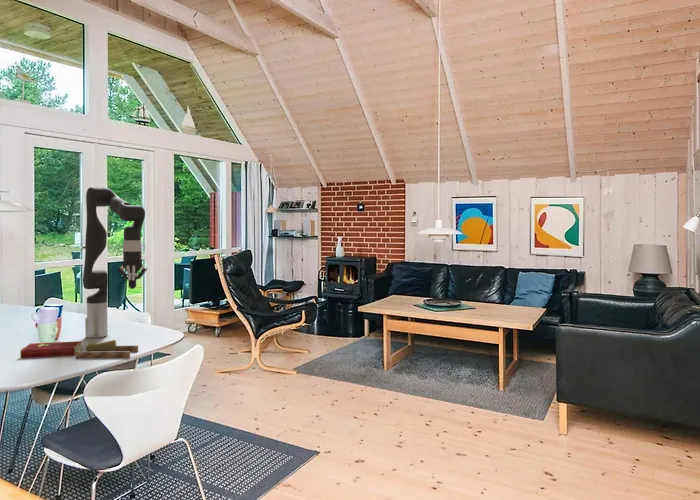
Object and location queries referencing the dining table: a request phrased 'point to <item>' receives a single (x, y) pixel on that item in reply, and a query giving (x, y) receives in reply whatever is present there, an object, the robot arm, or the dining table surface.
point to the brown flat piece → (109, 352)
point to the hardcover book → (50, 349)
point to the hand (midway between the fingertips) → (132, 288)
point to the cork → (102, 346)
